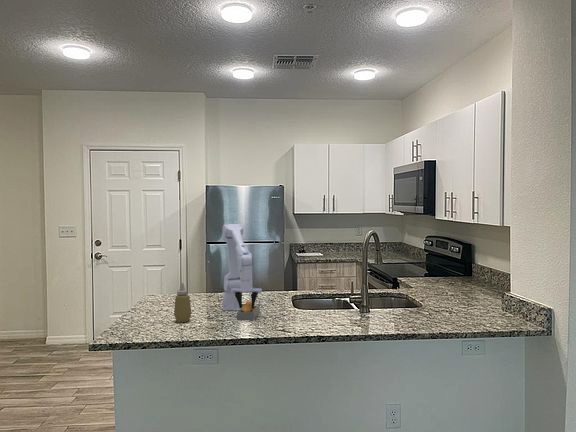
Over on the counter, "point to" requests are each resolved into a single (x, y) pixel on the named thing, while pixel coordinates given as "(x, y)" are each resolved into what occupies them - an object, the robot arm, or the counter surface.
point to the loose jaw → (246, 308)
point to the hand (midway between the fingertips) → (246, 308)
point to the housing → (248, 313)
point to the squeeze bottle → (182, 305)
